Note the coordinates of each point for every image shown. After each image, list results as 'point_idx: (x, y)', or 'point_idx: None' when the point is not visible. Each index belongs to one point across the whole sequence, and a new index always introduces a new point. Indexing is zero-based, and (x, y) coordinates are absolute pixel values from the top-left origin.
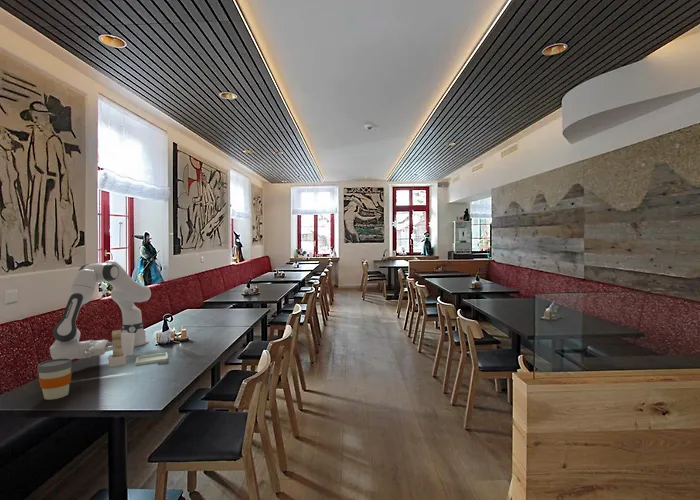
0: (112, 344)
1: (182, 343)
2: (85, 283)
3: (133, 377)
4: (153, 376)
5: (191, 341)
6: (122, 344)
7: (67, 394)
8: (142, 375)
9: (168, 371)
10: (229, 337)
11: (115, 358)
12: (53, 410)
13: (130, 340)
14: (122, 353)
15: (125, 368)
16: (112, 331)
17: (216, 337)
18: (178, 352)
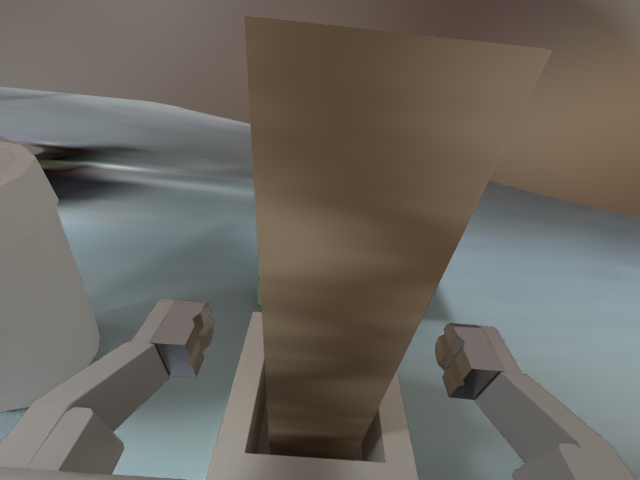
0: (408, 345)
1: (106, 162)
2: None
3: (626, 336)
4: (587, 269)
5: (112, 148)
6: (7, 300)
7: None
8: (580, 300)
9: (513, 231)
10: (184, 116)
11: (402, 413)
12: None
13: (56, 217)
14: (261, 341)
15: (429, 373)
16: (419, 35)
17: (146, 122)
18: (247, 185)
